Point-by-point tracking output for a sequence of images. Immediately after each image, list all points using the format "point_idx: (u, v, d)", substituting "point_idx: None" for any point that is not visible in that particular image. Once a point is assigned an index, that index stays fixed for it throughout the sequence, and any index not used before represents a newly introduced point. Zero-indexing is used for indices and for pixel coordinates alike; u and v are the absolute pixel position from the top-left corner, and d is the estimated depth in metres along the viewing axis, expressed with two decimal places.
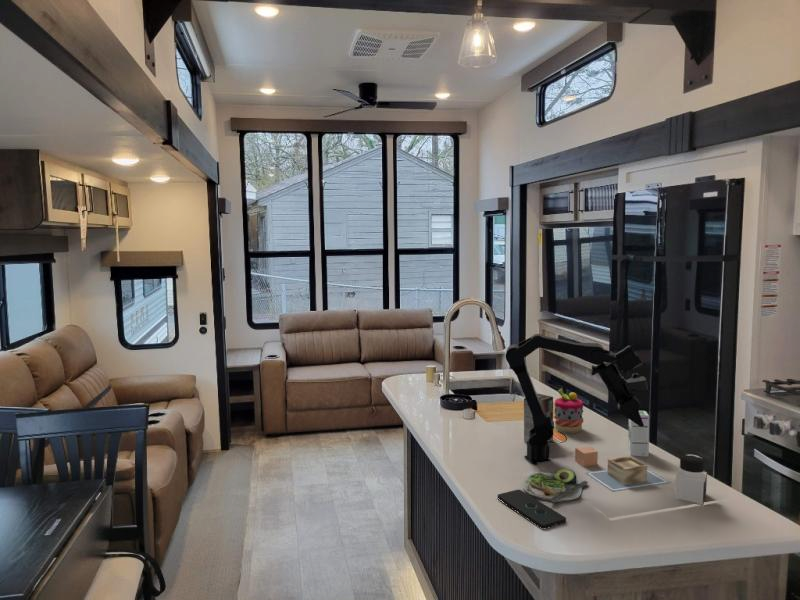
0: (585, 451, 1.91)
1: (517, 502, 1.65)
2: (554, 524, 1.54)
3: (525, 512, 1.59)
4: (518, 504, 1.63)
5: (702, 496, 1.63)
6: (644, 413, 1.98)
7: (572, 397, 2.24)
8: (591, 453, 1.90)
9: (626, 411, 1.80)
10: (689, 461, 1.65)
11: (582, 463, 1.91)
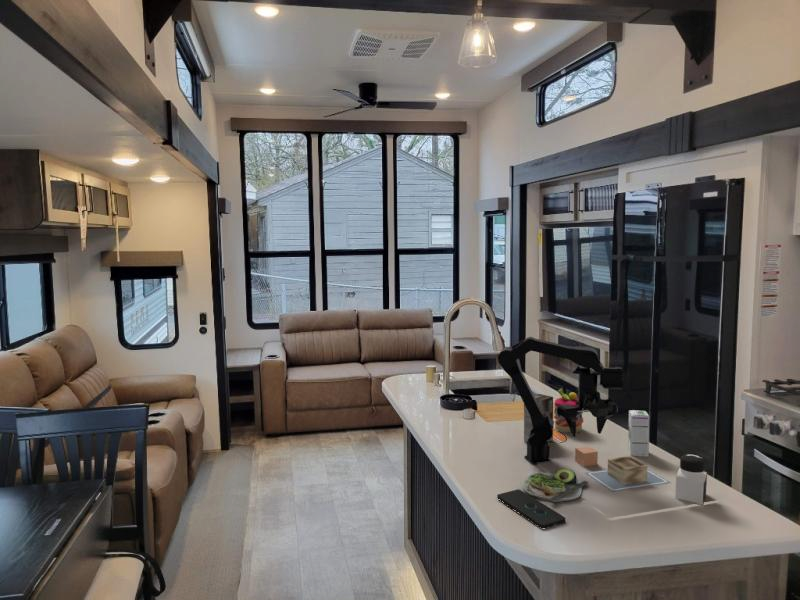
0: (585, 451, 1.91)
1: (517, 502, 1.65)
2: (554, 524, 1.54)
3: (524, 512, 1.59)
4: (517, 504, 1.63)
5: (702, 496, 1.63)
6: (644, 413, 1.98)
7: (572, 397, 2.24)
8: (591, 453, 1.90)
9: (558, 412, 1.90)
10: (689, 461, 1.65)
11: (582, 463, 1.91)
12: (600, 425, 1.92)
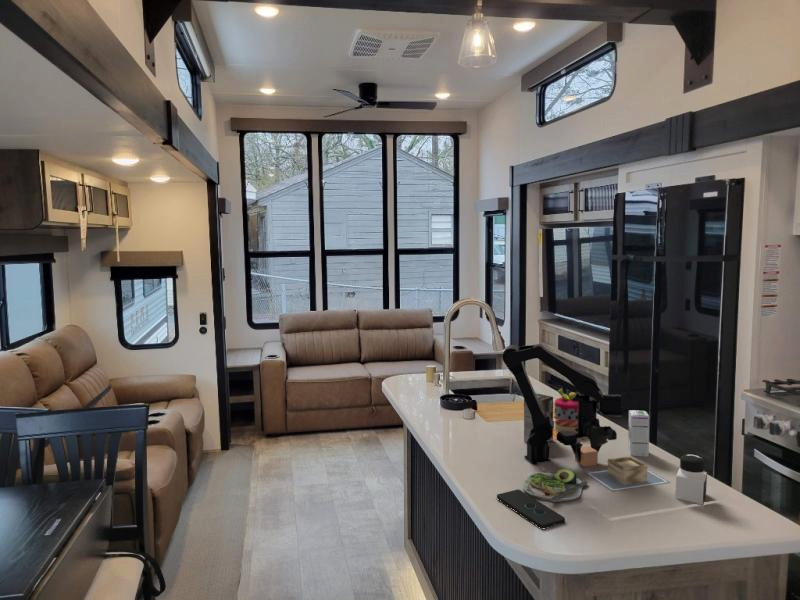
0: (585, 451, 1.91)
1: (517, 502, 1.65)
2: (553, 524, 1.54)
3: (524, 512, 1.59)
4: (517, 504, 1.63)
5: (702, 496, 1.63)
6: (644, 413, 1.98)
7: None
8: (591, 452, 1.90)
9: (558, 439, 1.91)
10: (689, 461, 1.65)
11: (582, 463, 1.91)
12: None
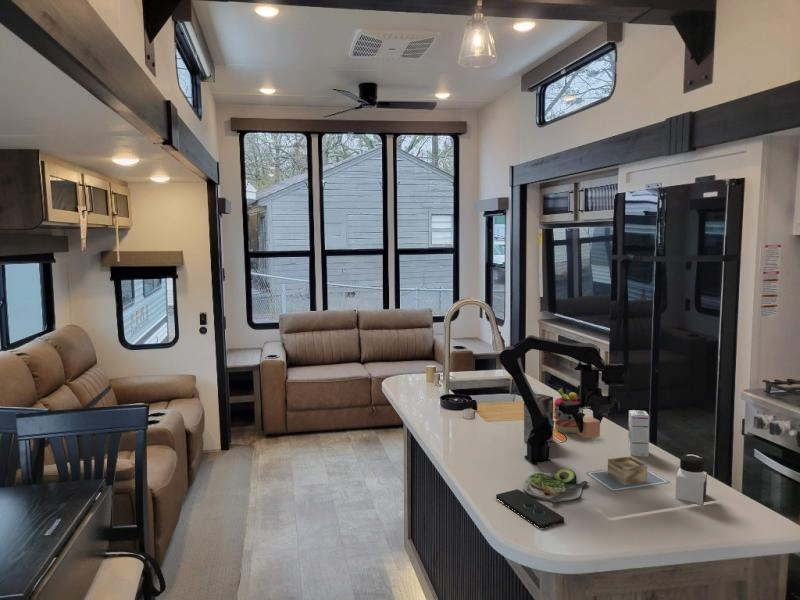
0: (587, 421, 1.89)
1: (516, 502, 1.65)
2: (552, 524, 1.54)
3: (523, 512, 1.59)
4: (516, 504, 1.63)
5: (702, 496, 1.63)
6: (644, 413, 1.98)
7: (572, 397, 2.24)
8: (593, 422, 1.89)
9: (560, 409, 1.89)
10: (689, 461, 1.65)
11: (584, 433, 1.89)
12: None
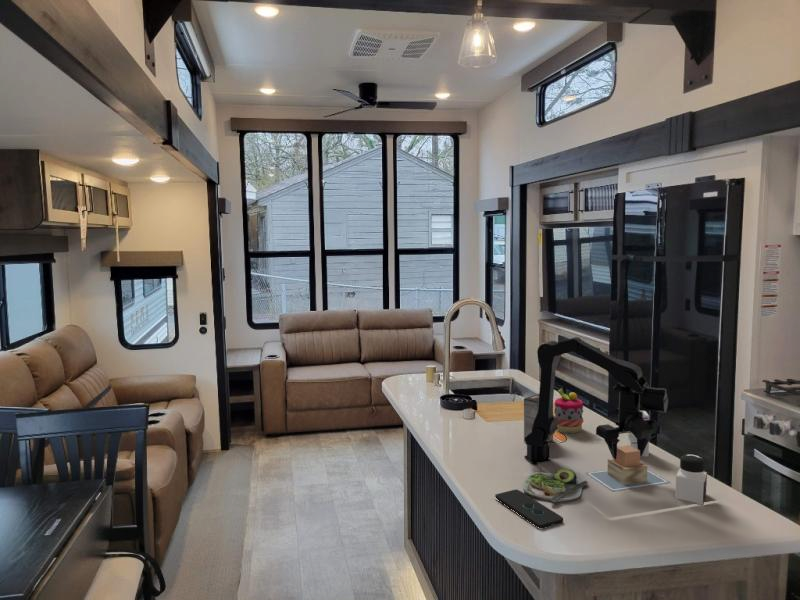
0: (627, 450, 1.78)
1: (515, 502, 1.65)
2: (551, 524, 1.54)
3: (522, 512, 1.59)
4: (515, 504, 1.63)
5: (702, 496, 1.63)
6: (644, 413, 1.98)
7: (572, 397, 2.24)
8: (633, 452, 1.78)
9: (598, 433, 1.78)
10: (689, 461, 1.65)
11: (623, 463, 1.78)
12: (641, 447, 1.81)
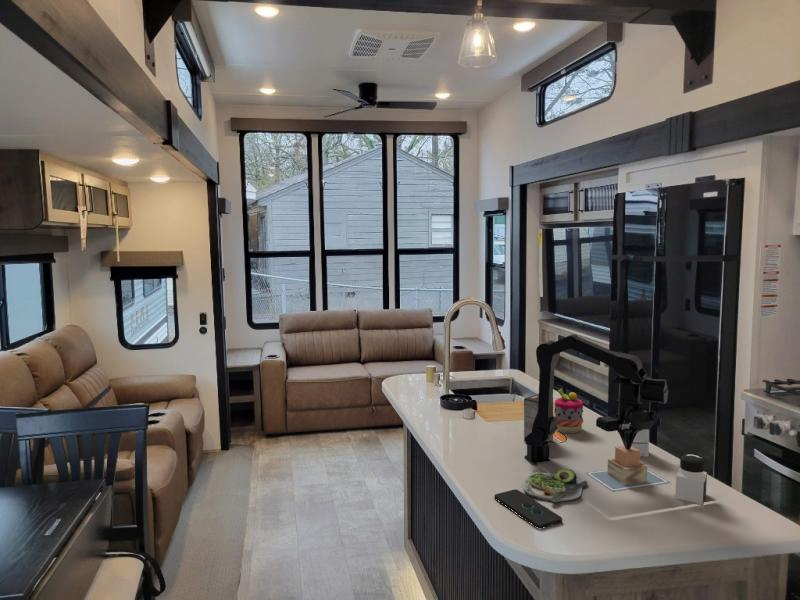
0: (627, 450, 1.78)
1: (514, 502, 1.65)
2: (550, 524, 1.54)
3: (521, 512, 1.59)
4: (514, 504, 1.63)
5: (702, 496, 1.63)
6: None
7: (572, 397, 2.24)
8: (633, 452, 1.78)
9: (598, 425, 1.78)
10: (689, 461, 1.65)
11: (623, 463, 1.78)
12: None
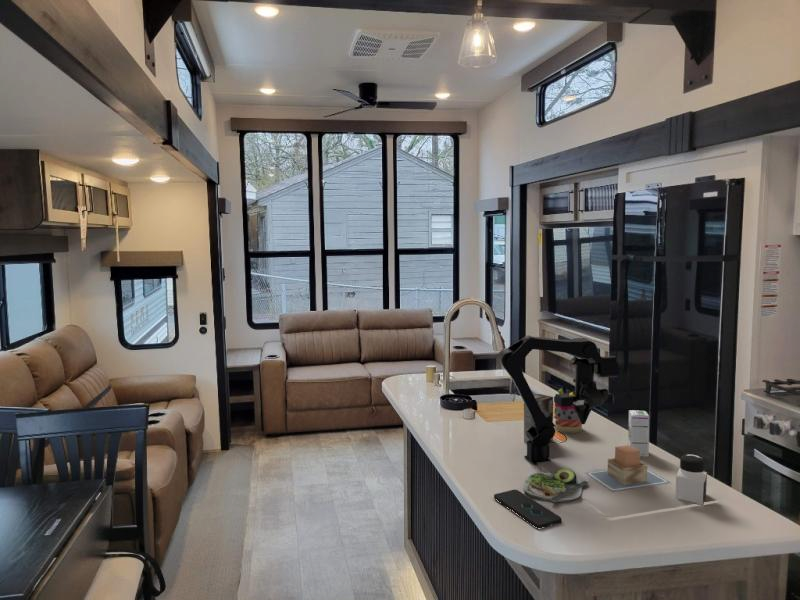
0: (627, 450, 1.78)
1: (513, 502, 1.65)
2: (549, 524, 1.54)
3: (520, 512, 1.59)
4: (514, 504, 1.63)
5: (702, 496, 1.63)
6: (644, 413, 1.98)
7: None
8: (633, 452, 1.78)
9: (555, 401, 1.95)
10: (689, 461, 1.65)
11: (623, 463, 1.78)
12: (584, 416, 1.96)
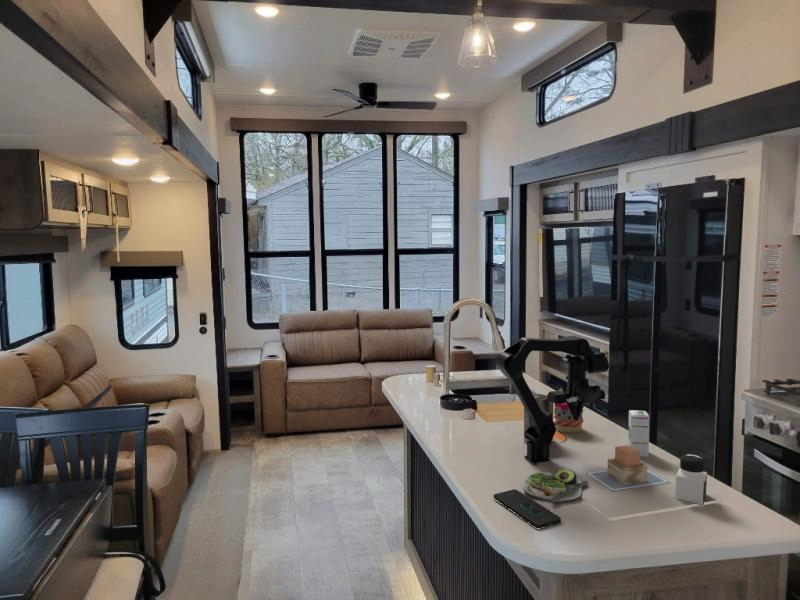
0: (627, 450, 1.78)
1: (513, 502, 1.65)
2: (549, 524, 1.54)
3: (520, 512, 1.59)
4: (513, 504, 1.63)
5: (702, 496, 1.63)
6: (644, 413, 1.98)
7: None
8: (633, 452, 1.78)
9: (548, 398, 1.98)
10: (689, 461, 1.65)
11: (623, 463, 1.78)
12: (577, 412, 1.99)
